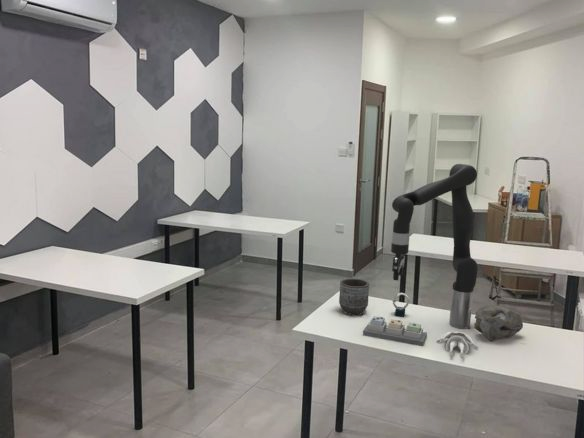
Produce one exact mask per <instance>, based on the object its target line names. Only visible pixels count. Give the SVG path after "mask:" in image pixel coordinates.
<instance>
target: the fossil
mask: <svg viewBox="0 0 584 438" xmlns="http://www.w3.org/2000/svg"><path fill="white" fill-rule="evenodd" d="M474 319H475V322H474V325H473V327H474V329H475V330H476V331H478V332H479V333H481V334H483V335H484V337H485V338H487V339H488V340H489V341H490V342H494V341H496V340H500V339H501V340H502V339H509V338H512V337H514V336H515V335H516V334H517V333H519V332H520V331H521V330H522V329H523V326H524V324H523V323H524V322H523V320H522V315H521V314H520V313H519V312H517V311H515V310H513V309H510V308H507V307H505V306H502V305H491V304H490V305H485V306H482V307H479V308H478V310H477V311H475V315H474Z"/></svg>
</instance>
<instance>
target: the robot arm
mask: <svg viewBox="0 0 584 438" xmlns="http://www.w3.org/2000/svg"><path fill="white" fill-rule="evenodd" d="M477 177H478V171H477V169H476V168H475V167H474V166H473V165H470V164H463V163H456V164H454V165H453V166H452V167H451V168H450V171H449V176H448V177H446V178H445V177H444V178H443V179H440V180H437V181H434V182H430V183H428V184H426V185H423V186H421V187H418V188H417V189H415V190H414V191H410V192H407V193H404V194H401V195H397V197H395V198H394V199H393V201H392V203H391V207H392V209H393V211H395V212H396V213H397V218H396V219H394V221H393V225H392V226H393V227H392V235H391V243H390V244H391V246H390V248H391V250H390V251H391V253H392V254H395V255H394V257H393V258H392V269H391V271H392V272H393V274H392V275H393V276H392V279H393V281H399V276H403V273H404V266H405V260H406V255H407V254H408V253H409V247H410V246H409V245H410V229H411V228H410V227H411V225H410V224H411V222H412V218H413V214H414V210H415V209H414V208H415V207H416V206H422V205H425V204H426V203H427V204H428V202H430V201H433V200H434V199H436V198H438V197H439V196H442V195H444V194H447V193H449V192H451V207H452V208H451V209H452V210H451V211H452V218H451V219H452V220H451V221H452V235H453V236H452V237H453V254H452V267H453V270H454V271H455V272H456V278H455V281H454V282H453V284H452V290H451V291H452V292H451V300H450V311H449V312H450V313H449V322H448V324H449V325H450V326H452V327H453V328H457V329H470V327H471V318H472V312H473V310H472V309H473V299H474V297H473V296H474V289H475V287H476V283H477V279H478V270H479V269H478V263H477V262H476V260H475V259H473V257H471V248H470V246H471V239H472V236H473V233H474V227H475V216H474V210H473V207H472V205H471V203H470V200H469V198H468V193H467V186H470V185H472V184H474V182H475V181H476V180H477ZM414 206H415V207H414Z"/></svg>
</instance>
